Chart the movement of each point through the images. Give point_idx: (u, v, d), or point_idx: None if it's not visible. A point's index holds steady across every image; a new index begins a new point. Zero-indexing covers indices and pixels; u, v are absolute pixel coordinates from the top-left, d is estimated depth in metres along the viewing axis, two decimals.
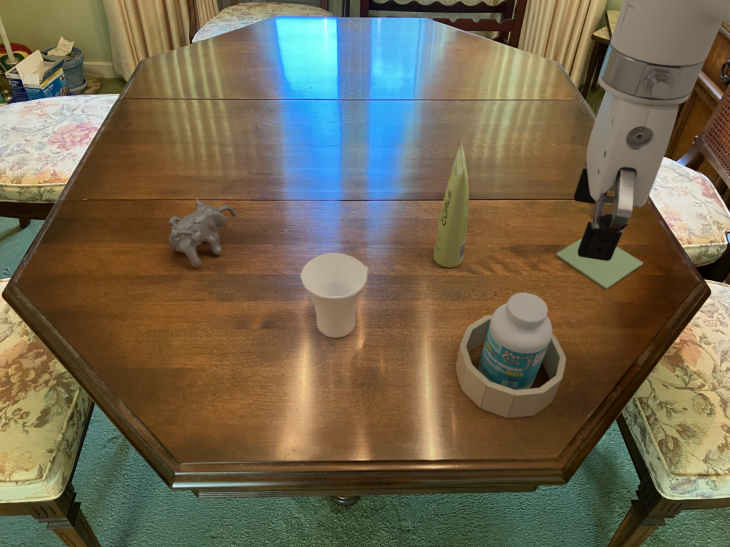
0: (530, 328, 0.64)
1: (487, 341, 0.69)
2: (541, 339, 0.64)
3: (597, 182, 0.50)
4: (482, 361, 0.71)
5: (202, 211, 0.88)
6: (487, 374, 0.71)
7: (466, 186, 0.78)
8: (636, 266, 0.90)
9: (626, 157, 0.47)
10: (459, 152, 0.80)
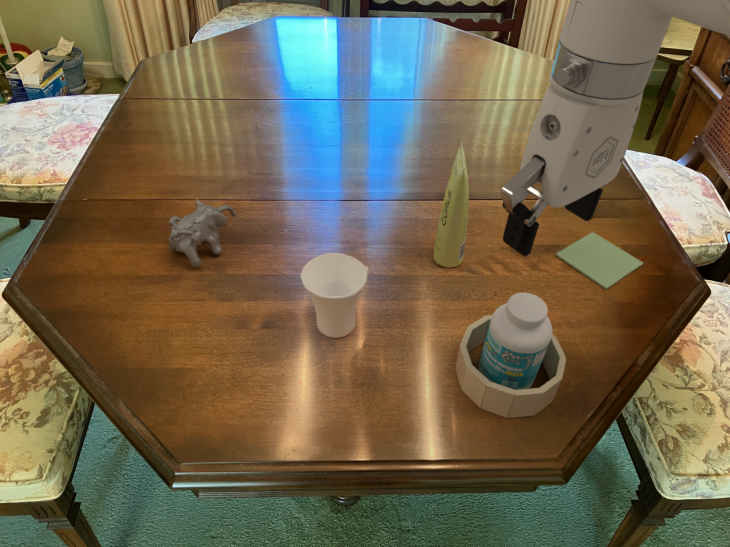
0: (530, 328, 0.64)
1: (487, 341, 0.69)
2: (541, 339, 0.64)
3: None
4: (482, 361, 0.71)
5: (202, 211, 0.88)
6: (487, 374, 0.71)
7: (466, 186, 0.78)
8: (636, 266, 0.90)
9: (539, 144, 0.47)
10: (459, 152, 0.80)
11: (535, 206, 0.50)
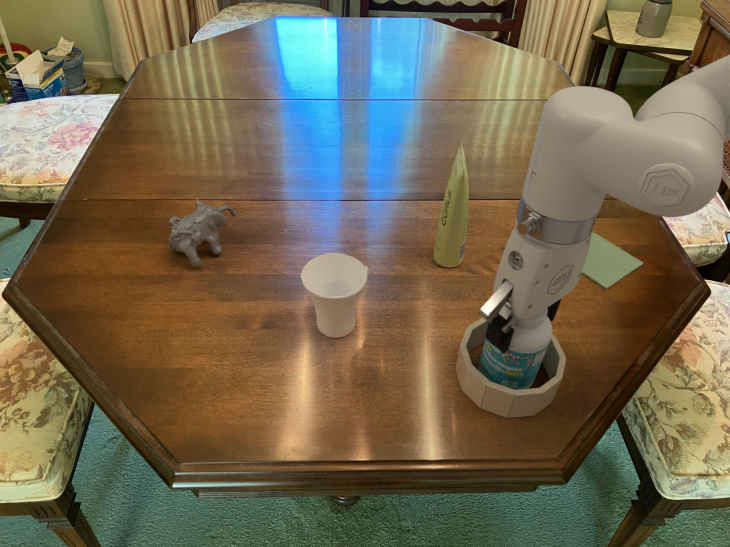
0: (530, 328, 0.64)
1: (487, 341, 0.69)
2: (541, 338, 0.64)
3: (494, 283, 0.61)
4: (482, 361, 0.71)
5: (202, 211, 0.88)
6: (487, 374, 0.71)
7: (466, 186, 0.78)
8: (636, 266, 0.90)
9: (507, 272, 0.57)
10: (459, 152, 0.80)
11: (509, 318, 0.61)
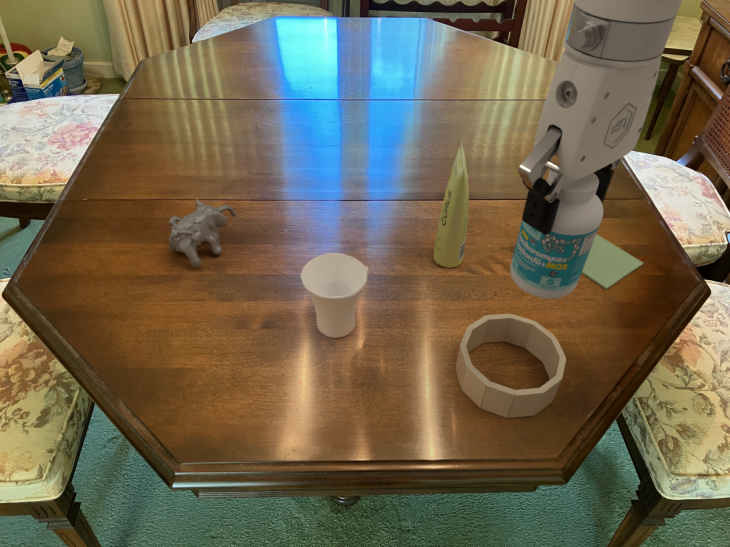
0: (578, 202, 0.52)
1: (523, 229, 0.57)
2: (592, 216, 0.53)
3: (535, 138, 0.49)
4: (516, 258, 0.59)
5: (202, 211, 0.88)
6: (522, 272, 0.59)
7: (466, 186, 0.78)
8: (636, 266, 0.90)
9: (554, 113, 0.46)
10: (459, 152, 0.80)
11: (554, 182, 0.49)
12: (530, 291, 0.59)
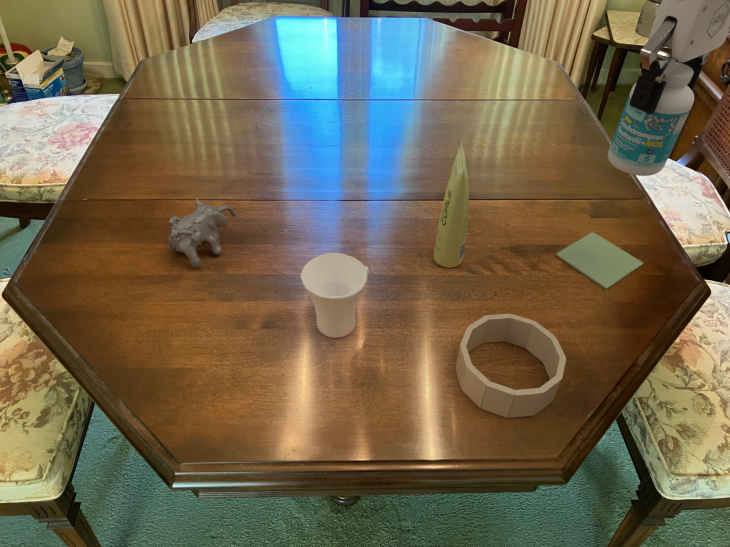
0: (677, 86, 0.66)
1: (626, 115, 0.71)
2: (687, 98, 0.67)
3: None
4: (616, 143, 0.74)
5: (202, 211, 0.88)
6: (622, 153, 0.73)
7: (466, 186, 0.78)
8: (636, 266, 0.90)
9: (671, 6, 0.60)
10: (459, 152, 0.80)
11: (664, 65, 0.63)
12: (627, 169, 0.73)
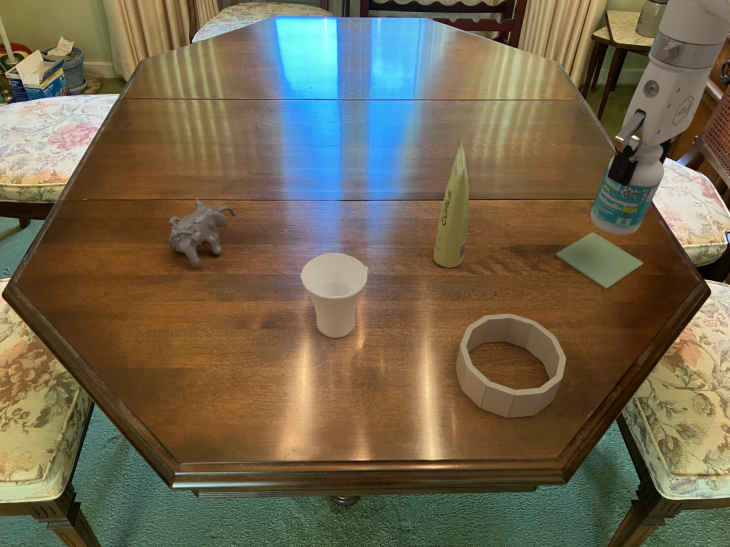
0: (648, 163, 0.76)
1: (605, 184, 0.81)
2: (657, 173, 0.76)
3: None
4: (597, 206, 0.83)
5: (202, 211, 0.88)
6: (602, 216, 0.83)
7: (466, 186, 0.78)
8: (636, 266, 0.90)
9: (641, 101, 0.69)
10: (459, 152, 0.80)
11: (636, 148, 0.73)
12: (607, 229, 0.83)
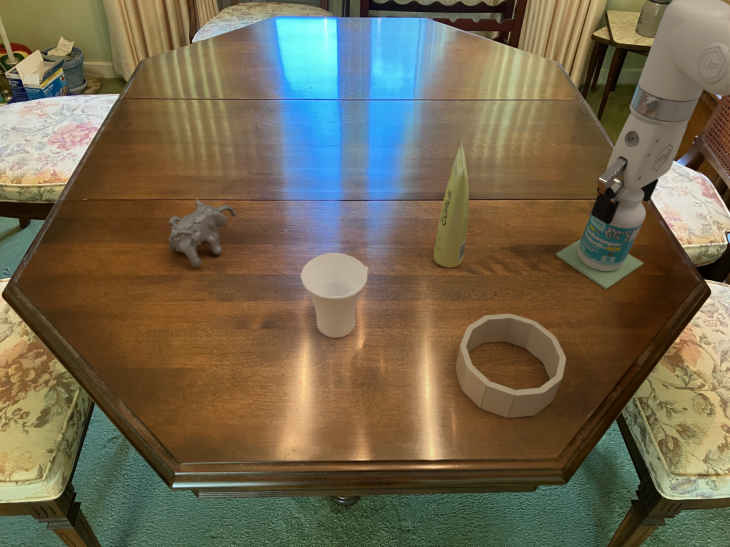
0: (630, 207, 0.81)
1: (590, 224, 0.86)
2: (639, 216, 0.81)
3: (608, 163, 0.77)
4: (583, 244, 0.88)
5: (202, 211, 0.88)
6: (588, 253, 0.88)
7: (466, 186, 0.78)
8: (636, 266, 0.90)
9: (623, 150, 0.74)
10: (459, 152, 0.80)
11: (618, 190, 0.77)
12: (593, 266, 0.88)
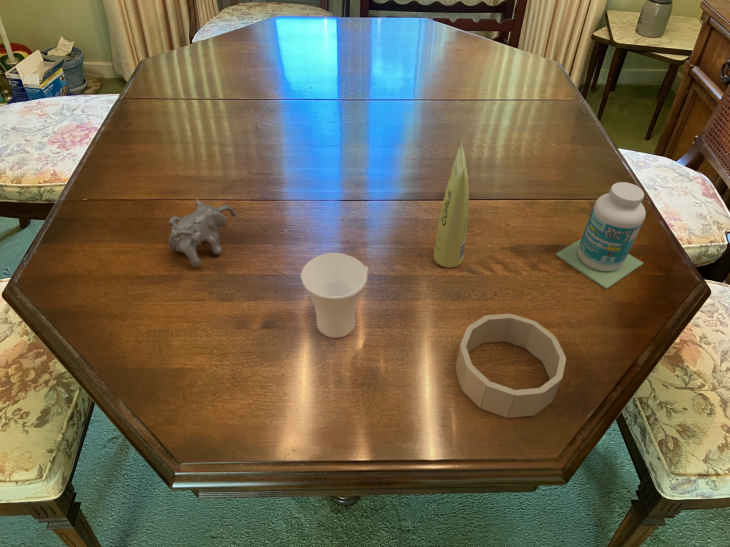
0: (630, 207, 0.81)
1: (590, 224, 0.86)
2: (639, 216, 0.81)
3: None
4: (583, 244, 0.88)
5: (202, 211, 0.88)
6: (588, 253, 0.88)
7: (466, 186, 0.78)
8: (636, 266, 0.90)
9: None
10: (459, 152, 0.80)
11: None
12: (593, 266, 0.88)
